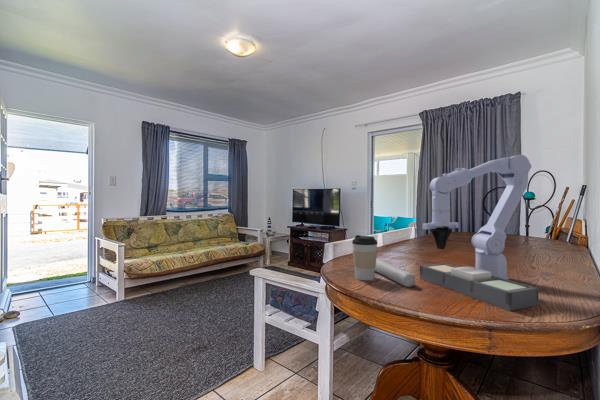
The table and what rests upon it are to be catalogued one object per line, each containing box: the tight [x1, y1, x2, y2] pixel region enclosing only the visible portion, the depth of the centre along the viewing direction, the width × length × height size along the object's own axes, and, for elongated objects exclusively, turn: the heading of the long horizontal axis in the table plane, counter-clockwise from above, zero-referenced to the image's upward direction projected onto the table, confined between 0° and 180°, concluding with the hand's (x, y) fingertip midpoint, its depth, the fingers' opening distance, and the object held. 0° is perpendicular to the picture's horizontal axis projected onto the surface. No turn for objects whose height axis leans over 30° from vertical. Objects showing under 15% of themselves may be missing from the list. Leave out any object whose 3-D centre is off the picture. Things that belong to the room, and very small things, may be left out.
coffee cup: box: [351, 234, 378, 281], centre depth 103 cm, size 9×9×15 cm
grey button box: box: [419, 262, 539, 312], centre depth 89 cm, size 11×31×5 cm, turn 19°
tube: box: [375, 256, 416, 288], centre depth 103 cm, size 5×5×25 cm
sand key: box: [429, 265, 454, 272], centre depth 98 cm, size 8×8×2 cm
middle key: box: [451, 265, 491, 281], centre depth 89 cm, size 8×8×2 cm
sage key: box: [480, 280, 527, 291], centre depth 80 cm, size 8×8×2 cm
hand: (440, 248), depth 102 cm, fingers closed
